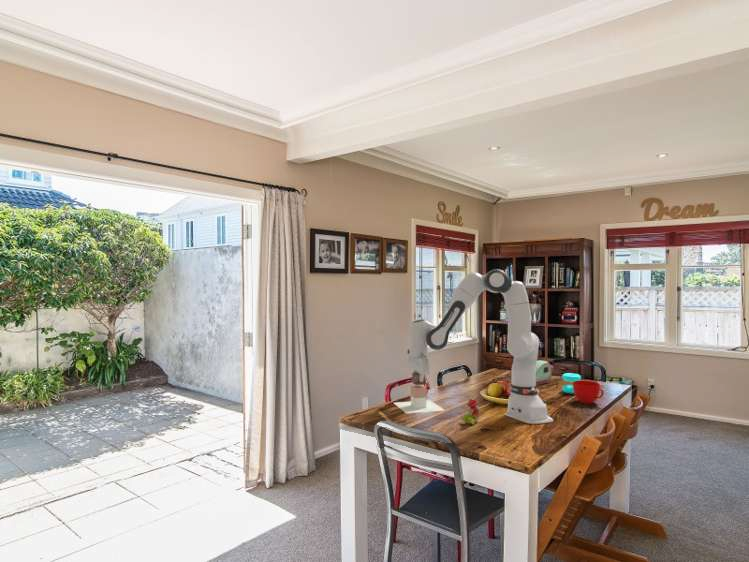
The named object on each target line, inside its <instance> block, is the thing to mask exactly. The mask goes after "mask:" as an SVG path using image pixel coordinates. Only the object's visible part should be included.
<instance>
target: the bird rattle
mask: <svg viewBox="0 0 749 562" xmlns="http://www.w3.org/2000/svg"><path fill="white" fill-rule="evenodd" d="M466 405H467V407H469V410H468V412H467V413H464V414H463V415H464V416H462V417H461V421H463V422H464V423H465V424H469V423H471V424H470V425H474V426H475V425H476V423H477V422H478V419H480V416H481V414H482V413H481V408H480V407H479V406H478V405H479V403H478V401H477V399H472V398H469V400H468V402H467V403H466Z"/></svg>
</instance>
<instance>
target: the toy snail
mask: <svg viewBox="0 0 749 562" xmlns="http://www.w3.org/2000/svg"><path fill="white" fill-rule="evenodd" d="M553 363H554V362H552V364H550V363H549V361H546V360H538V359H537V363H536V386H539V385H543V384H547V383H550V382H551V381H552V375H553V374H552V373H553V370H554V366H553Z"/></svg>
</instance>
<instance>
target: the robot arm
mask: <svg viewBox="0 0 749 562" xmlns="http://www.w3.org/2000/svg"><path fill="white" fill-rule="evenodd" d="M483 291H486V292H488V293H489V292H490V293H494V294H497V293H498V294H499V293H500V294H501V295H502V297H503V299H504V305H505V311H506V318H507V319H506V320H507V343H506V349H507V352H508V353H509V354H510V355H511V356H512V357H513V360H512V365H511V383H510V386H509V388H510V389H509V390H510V395H509V397H508V400H507V402H508V403H507V411H506V412H505V416H506V417H509V418H511V419H514V420H517V421H519V422H522V423H525V424H529V425H530V424H533V425H535V424H536V425H537V424H538V425H540V424H548V423H552V422H554V419H553V418H552V417H551V416H549V415H548V408H547V407H548V406H547V404H546V403H544V401H543V400H542V399H541V397H540V396H539V392H540V391H539V390H540V389H539V388H538V387H537V386H538V385H536V363H537V361H538V357H539V356H538V354H539V347H540V339H539V337H538V336H537V334H535V333H534V332H532V313H531V306H530V302H529V297H528V296H529V295H528V293H527V290H526V286H525V285H524V283H523V282H522V281H519V280H512V279H511V278H510V277H509V276H508V274H507V273H506V272H505V271H503V270H501V269H500V268H499V269H498V268H495V269H491V270H489V271H488V272H487V273H486V274H484V275H483V274H480V273H479V272H476V271H471V272H469V273H468V274H467V275H465V277H464V278H463V279H462V280H461V281H460V282H459V283H458V285H457V287H456V288H455V290H454V291H453V293H452V295H451V297H450V303H449V306H448V310H447V312H446V313H445V315H444V317H443V318H442V319H441V320H440V322H439V323H438V324H437V325H435V324H433V323H431V322H429V321H428V320H427V319H423V318H422V319H417V320H414V321H412V322H411V323H410V329H409V339H410V345H409V348H408V349H407V350H406V352H407V361H408V362H407V363H408V364H407V365H408V367H409V369H411V370H413V372H412V373H419V375H420V378H419V381H420V382H423V378H424V374H425V375H429V374H430V360H429V358H428V356H429V354H428V350H429V349H428V348H430V349H432V350H434V351H439V350H443V349H444V348H445V347H446V345H447V344H448V341H449V336H450V333H451V331H452V330H453V328H454V327H455V325H456V324H457V322H458V320H460V319H461V317H462V316H463V314H465V313H466V311H468V309H470V308H471V307H472V306H473V304H474V303H475V302H476V300H477V299H478V297H479V296H480V295H481V293H482V292H483Z"/></svg>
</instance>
